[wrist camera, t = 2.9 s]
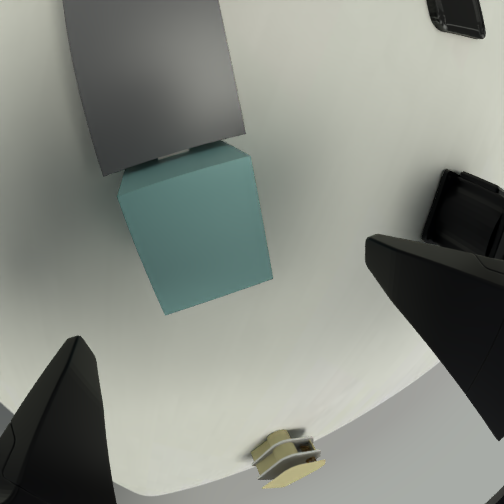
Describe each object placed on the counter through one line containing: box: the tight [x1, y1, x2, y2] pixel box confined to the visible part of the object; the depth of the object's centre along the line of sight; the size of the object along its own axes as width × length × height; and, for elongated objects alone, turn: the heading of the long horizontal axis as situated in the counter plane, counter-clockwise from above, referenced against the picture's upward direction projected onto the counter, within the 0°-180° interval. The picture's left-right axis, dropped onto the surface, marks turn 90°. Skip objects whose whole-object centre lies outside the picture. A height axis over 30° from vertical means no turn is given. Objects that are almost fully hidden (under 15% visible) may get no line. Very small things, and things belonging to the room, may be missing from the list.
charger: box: [117, 140, 273, 315], centre depth 13 cm, size 8×4×6 cm, turn 10°
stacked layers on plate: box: [251, 430, 325, 488], centre depth 30 cm, size 10×9×6 cm
